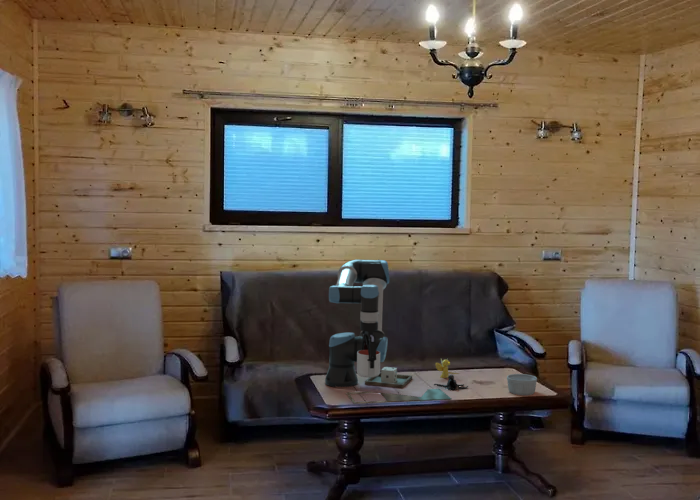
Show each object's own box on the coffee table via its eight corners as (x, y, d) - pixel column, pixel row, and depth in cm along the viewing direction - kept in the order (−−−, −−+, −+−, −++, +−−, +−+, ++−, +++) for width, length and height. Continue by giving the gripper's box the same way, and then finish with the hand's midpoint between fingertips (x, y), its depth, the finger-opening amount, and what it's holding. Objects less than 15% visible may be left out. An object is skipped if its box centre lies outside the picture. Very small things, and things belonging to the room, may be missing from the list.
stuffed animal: (470, 388, 322) (449, 373, 320) (457, 406, 322) (436, 391, 321) (464, 381, 333) (444, 367, 332) (452, 398, 334) (431, 384, 332)
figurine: (459, 381, 337) (460, 363, 336) (434, 379, 341) (435, 361, 341) (464, 376, 348) (465, 358, 348) (440, 373, 352) (440, 356, 352)
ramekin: (500, 390, 324) (500, 374, 323) (524, 387, 329) (524, 372, 329) (518, 397, 312) (518, 381, 311) (542, 394, 317) (543, 379, 316)
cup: (355, 377, 304) (355, 354, 303) (358, 371, 313) (359, 349, 312) (378, 378, 302) (378, 355, 301) (381, 372, 312) (381, 350, 311)
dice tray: (364, 385, 328) (364, 381, 328) (375, 376, 345) (376, 372, 345) (402, 389, 322) (402, 384, 322) (412, 379, 339) (412, 375, 339)
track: (353, 403, 298) (353, 402, 298) (346, 393, 314) (346, 392, 314) (451, 399, 307) (451, 398, 307) (439, 389, 323) (439, 388, 323)
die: (380, 382, 332) (381, 369, 331) (384, 379, 338) (384, 366, 337) (393, 383, 330) (393, 370, 329) (396, 380, 336) (397, 367, 335)
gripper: (384, 326, 295) (383, 378, 297) (371, 316, 317) (371, 365, 319) (366, 326, 294) (365, 379, 296) (355, 316, 316) (354, 365, 318)
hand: (368, 372), depth 308 cm, fingers closed on cup, 10 cm apart
